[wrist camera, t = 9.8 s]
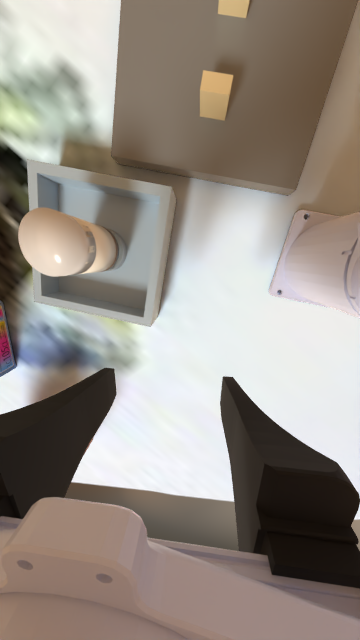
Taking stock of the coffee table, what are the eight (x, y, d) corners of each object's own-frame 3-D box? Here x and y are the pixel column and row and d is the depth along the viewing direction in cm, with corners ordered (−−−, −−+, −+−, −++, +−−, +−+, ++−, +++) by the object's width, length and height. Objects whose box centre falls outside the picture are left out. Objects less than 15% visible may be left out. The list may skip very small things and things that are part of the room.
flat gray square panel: (362, -37, 13) (428, -157, 9) (287, 195, 18) (312, 177, 14) (135, -69, 14) (110, -195, 10) (118, 163, 18) (96, 138, 14)
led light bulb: (130, 234, 19) (83, 216, 11) (123, 275, 20) (77, 284, 13) (90, 223, 19) (17, 199, 11) (86, 265, 20) (18, 267, 13)
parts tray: (176, 199, 18) (171, 186, 15) (157, 316, 22) (150, 326, 19) (57, 176, 19) (27, 159, 16) (58, 295, 23) (34, 301, 19)
